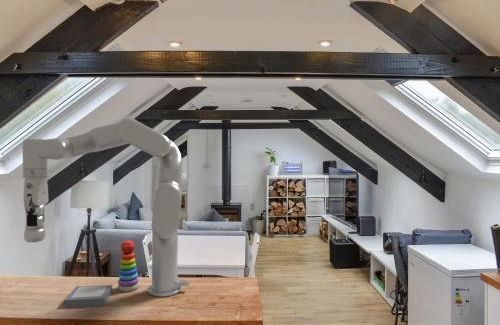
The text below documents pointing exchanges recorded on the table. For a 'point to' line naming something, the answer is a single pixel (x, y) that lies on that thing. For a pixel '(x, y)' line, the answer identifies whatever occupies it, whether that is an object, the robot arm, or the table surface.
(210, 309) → the table surface
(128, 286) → the stacking toy
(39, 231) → the metal water bottle
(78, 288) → the slate pedestal
